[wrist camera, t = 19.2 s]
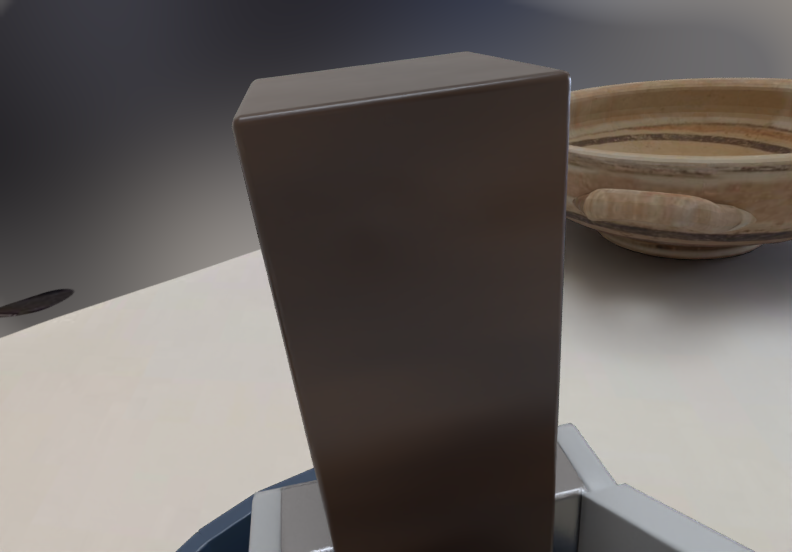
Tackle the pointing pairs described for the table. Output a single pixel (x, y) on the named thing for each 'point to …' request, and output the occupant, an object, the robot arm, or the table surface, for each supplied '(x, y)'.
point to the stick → (419, 290)
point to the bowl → (234, 524)
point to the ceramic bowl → (683, 165)
